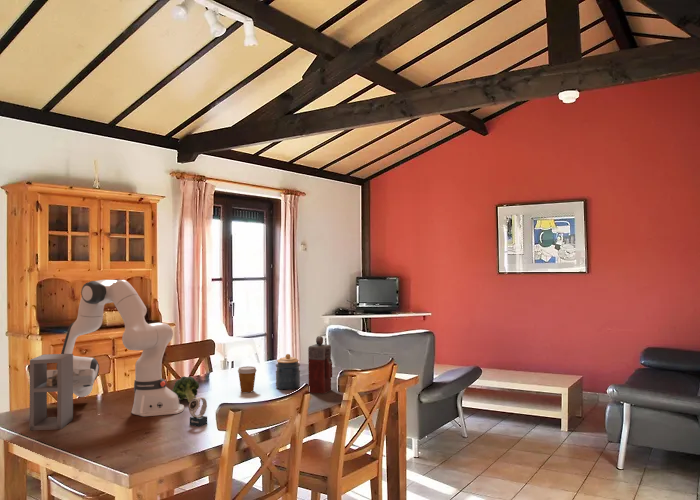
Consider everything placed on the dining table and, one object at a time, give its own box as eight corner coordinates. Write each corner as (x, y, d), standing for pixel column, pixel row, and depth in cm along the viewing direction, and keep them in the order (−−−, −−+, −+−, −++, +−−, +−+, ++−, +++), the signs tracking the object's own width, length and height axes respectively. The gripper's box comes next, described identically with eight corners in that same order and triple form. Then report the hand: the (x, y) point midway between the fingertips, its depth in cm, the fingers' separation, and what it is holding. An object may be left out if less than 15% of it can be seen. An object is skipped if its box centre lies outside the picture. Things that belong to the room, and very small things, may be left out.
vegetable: (174, 401, 268) (164, 382, 279) (188, 415, 276) (178, 396, 287) (196, 385, 271) (186, 366, 282) (209, 399, 279) (199, 381, 290)
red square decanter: (328, 394, 291) (328, 338, 291) (308, 392, 295) (308, 337, 295) (335, 390, 299) (335, 335, 299) (315, 388, 303) (315, 334, 303)
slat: (70, 375, 258) (70, 368, 258) (51, 386, 236) (51, 378, 236) (65, 375, 258) (65, 368, 258) (46, 386, 236) (46, 379, 236)
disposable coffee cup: (258, 389, 302) (258, 366, 302) (253, 393, 293) (253, 369, 293) (240, 389, 303) (240, 366, 303) (235, 393, 294) (235, 369, 294)
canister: (299, 390, 300) (298, 355, 300) (273, 390, 300) (273, 356, 300) (301, 384, 313) (301, 351, 313) (277, 384, 313) (277, 352, 313)
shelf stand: (76, 416, 251) (76, 352, 252) (61, 428, 233) (61, 359, 234) (47, 418, 250) (47, 352, 250) (29, 430, 232) (29, 359, 232)
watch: (186, 426, 236) (186, 399, 236) (200, 421, 243) (200, 394, 243) (196, 428, 233) (196, 400, 233) (210, 423, 240) (210, 396, 240)
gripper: (52, 373, 267) (41, 363, 255) (98, 372, 270) (90, 361, 258) (49, 387, 264) (38, 377, 252) (96, 385, 266) (88, 375, 255)
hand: (65, 369), depth 255 cm, fingers open, 4 cm apart
